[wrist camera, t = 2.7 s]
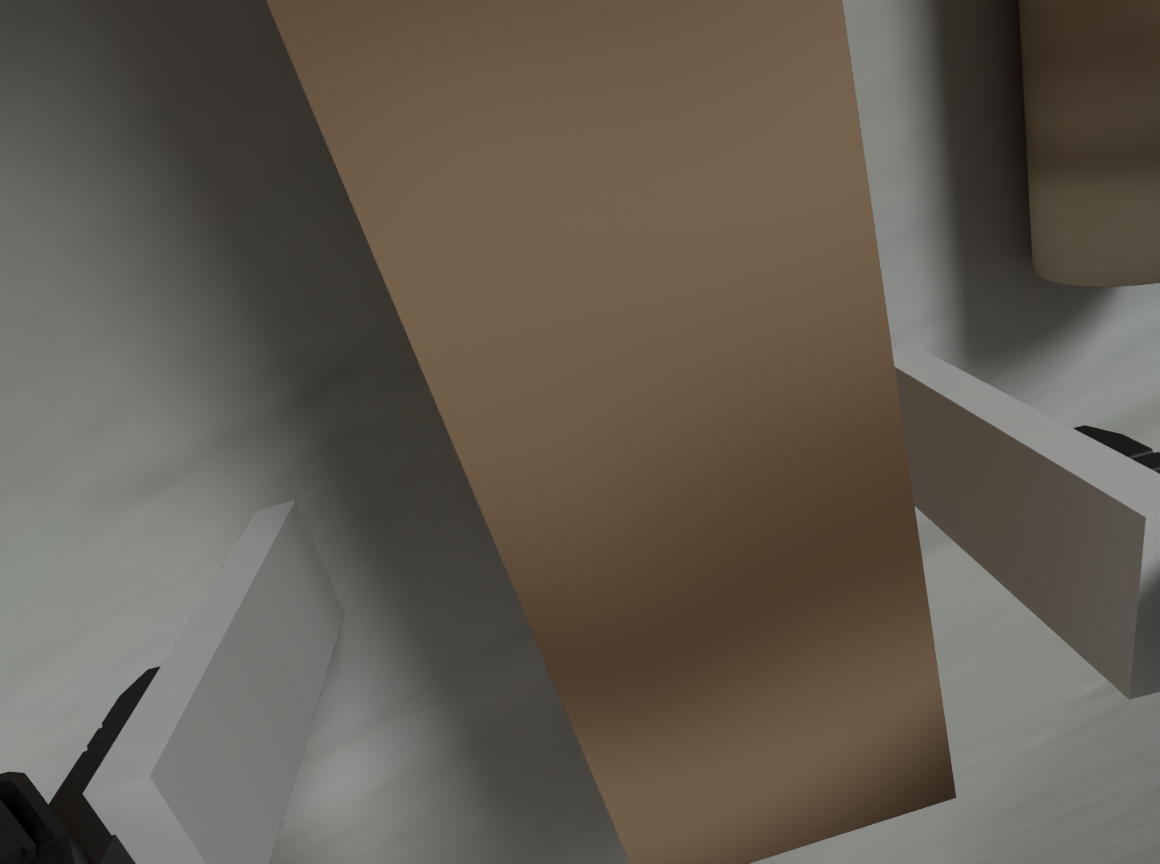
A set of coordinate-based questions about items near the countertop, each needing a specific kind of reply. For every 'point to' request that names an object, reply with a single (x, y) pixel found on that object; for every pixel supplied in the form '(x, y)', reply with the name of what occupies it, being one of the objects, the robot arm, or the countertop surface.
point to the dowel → (1093, 139)
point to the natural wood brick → (660, 385)
